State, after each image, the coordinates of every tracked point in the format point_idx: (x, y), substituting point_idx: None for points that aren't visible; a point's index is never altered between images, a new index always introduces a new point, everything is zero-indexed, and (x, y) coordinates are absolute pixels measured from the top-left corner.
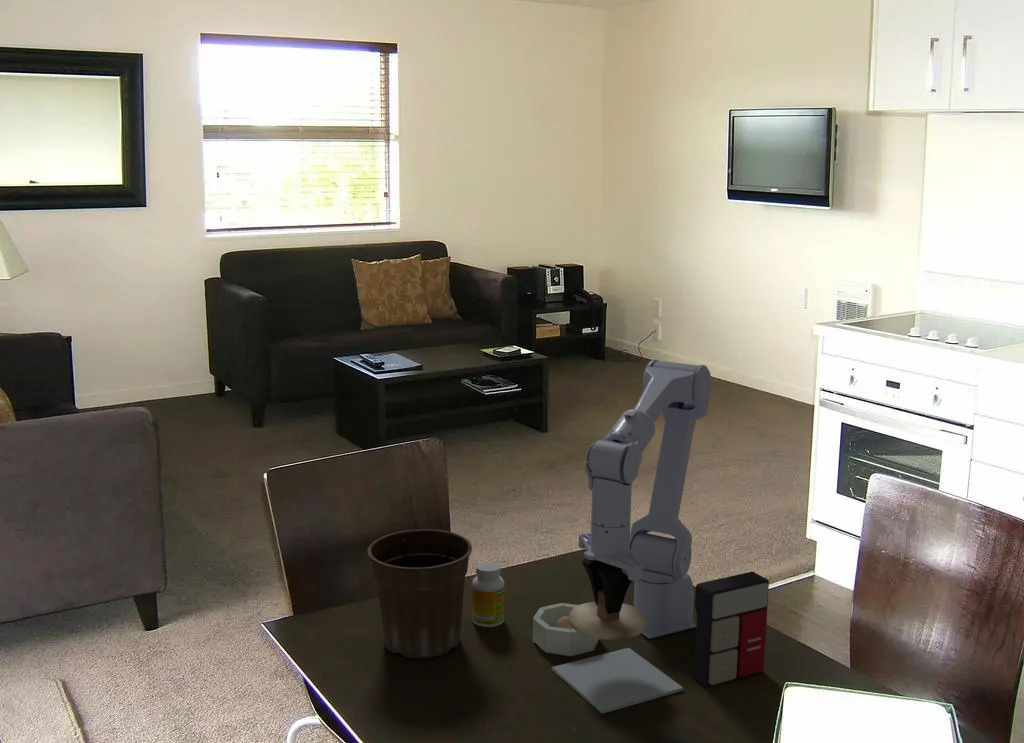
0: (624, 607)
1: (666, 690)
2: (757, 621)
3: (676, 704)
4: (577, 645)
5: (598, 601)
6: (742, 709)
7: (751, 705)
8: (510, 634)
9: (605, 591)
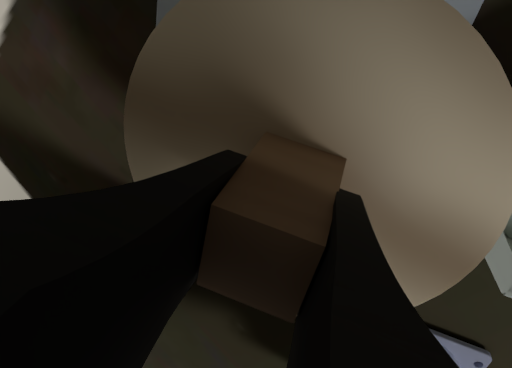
0: None
1: None
2: None
3: (115, 97)
4: None
5: (323, 198)
6: (50, 173)
7: (55, 195)
8: None
9: (156, 198)
